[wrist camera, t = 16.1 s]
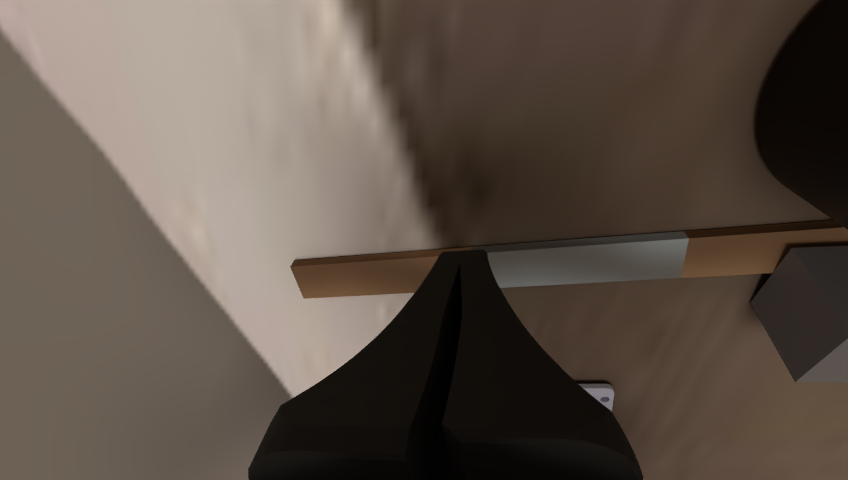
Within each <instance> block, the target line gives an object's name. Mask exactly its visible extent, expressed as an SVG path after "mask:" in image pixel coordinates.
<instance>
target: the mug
mask: <svg viewBox="0 0 848 480" xmlns="http://www.w3.org/2000/svg"><path fill="white" fill-rule="evenodd" d="M758 124H759V139H760V145H761V149H762V153H763V157H764V160H765V161H766V163H767V165H768V167H769V169H770V170H771V172H772V173H773V175H774V176H775V177H776V178H777V179H778V180H779V181H780V182H781V183H782V184H783V185H784V186H786V187H787V188H789V189H790V190H791V191H793V192H794V193H796V194H797V195H799V196H800V197H801V198H803V199H804V200H806V201H807V202H809V203H810V204H811V205H813V206H814V207H816V208H817V209H819V210H820V211H822V212H823V213H824V214H826V215H827V216H829V217H830V218H832V219H833V220H834V221H836V222H837V223H839V224H840V225H842V226H843V227H844V228H846V229H847V230H848V0H825V1H824V2H823V3H822V4H821V5H820V6H819V7H818V8H817V9H816V10H815V11H814V13H813V14H812V15H811V16H810V17H809V18H808V19H807V21H806V22H805V23H804V24H803V25H802V27H801V28H800V29H799V30H798V32H797V33H796V34H795V35H794V36H793V38H792V39H791V41H790V42H789V44H788V46H787V47H786V49H785V50H784V52H783V53H782V55H781V56H780V58H779V60H778V62H777V64H776V66H775V68H774V70H773V72H772V74H771V76H770V78H769V80H768V82H767V86H766V89H765V92H764V95H763V98H762V102H761V107H760V114H759V120H758Z"/></svg>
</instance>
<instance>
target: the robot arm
mask: <svg viewBox="0 0 848 480" xmlns="http://www.w3.org/2000/svg"><path fill="white" fill-rule="evenodd" d="M613 400H614V390H613V387H612V386H611V385H609V384H578V383H577V382H576V381H574V380H573V379H572V378H571V377H570V376H569V375H568V374H567V373H566V372H565V371H564V370H563V369H562V368H561V367H560V366H559V365H558V364H557V363H556V362H555V361H554V360H553V359H552V358H551V357H550V356H549V355H548V354H547V353H546V352H545V351H544V350H543V349H542V348H541V347H540V345H539V344H538V343H537V342H536V341H535V339H534V338H533V337H532V336H531V335H530V333H529V332H528V331H527V329H526V328H525V327H524V326H523V324H522V323H521V321H520V320H519V319H518V317H517V316H516V314H515V313H514V311H513V310H512V308H511V306H510V305H509V303H508V302H507V300H506V298H505V297H504V295H503V293H502V291H501V289H500V287H499V285H498V283H497V281H496V279H495V277H494V275H493V272H492V270H491V267H490V264H489V261H488V254H487V252H486V251H485V250H484V249H480V250H464V251H447V252H442V253H441V254H440V255H439V256H438V258H437V260H436V262H435V263H434V265H433V267H432V268H431V270H430V271H429V273H428V275H427V276H426V278H425V279H424V281H423V282H422V283H421V285H420V286H419V288H418V289H417V291H416V292H415V293H414V295H413V296H412V297H411V299H410V300H409V301H408V302H407V304H406V305H405V306H404V307H403V309H402V310H401V311H400V312H399V314H398V315H397V316H396V317H395V318H394V319H393V320H392V321H391V323H390V324H389V325H388V326H387V327H386V328H385V329H384V330H383V331H382V332H381V333H380V334H379V335H378V336H377V337H376V338H375V339H374V340H373V341H372V342H370V343H369V344H368V345H367V346H366V347H365V348H364V349H362V350H361V351H360V352H359V353H358V354H357V355H355V356H354V357H353V358H352V359H351V360H349V361H348V362H347V363H345V364H344V365H343V366H341V367H340V368H339V369H337V370H336V371H334V372H333V373H332V374H330V375H329V376H327V377H326V378H325V379H323V380H322V381H320V382H319V383H317V384H316V385H314V386H312V387H311V388H309V389H307V390H306V391H304V392H302V393H301V394H299V395H297V396H296V397H294V398H293V399H291V400H289V401H288V402H286V403H284V404H282V405H281V406H280V408H279V410H278V412H277V413H276V415H275V416H274V418H273V420H272V422H271V423H270V425H269V427H268V429H267V431H266V433H265V435H264V438H263V440H262V442H261V444H260V446H259V448H258V450H257V452H256V454H255V457H254V459H253V461H252V463H251V465H250V467H249V469H248V471H249V472H248V474H249V475H248V477H249V480H643V475H642V472H641V469H640V466H639V463H638V461H637V459H636V456H635V454H634V452H633V450H632V448H631V445H630V443H629V441H628V439H627V438H626V436H625V434H624V432H623V430H622V428H621V427H620V425H619V423H618V422H617V420H616V418H615V416H614V415H613V413H612V408H613Z"/></svg>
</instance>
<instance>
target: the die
mask: <svg viewBox="0 0 848 480" xmlns="http://www.w3.org/2000/svg"><path fill="white" fill-rule="evenodd" d="M750 303H751V305H752V307H753V308H754V310H755V312H756V314H757V316H758V317H759V319H760V321H761V323H762V324H763V326H764V328H765V330H766V331H767V333H768V335H769V337H770V338H771V340H772V342H773V344H774V346H775V347H776V349H777V351H778V353H779V354H780V356H781V358H782V360H783V361H784V363H785V365H786V367H787V369H788V370H789V372H790V374H791V376H792V377H793V379H794V381H795V382H832V383H848V246H829V247H803V248H791V249H790V251H789V252H788V253H787V255H786V256H785V257H784V259H783V260H782V261H781V263H780V264H779V265H778V267H777V268H776V269H775V271H774V272H773V273H772V275H771V276H770V277H769V278H768V280H767V281H766V282H765V284H764V285H763V286H762V288H761V289H760V290H759V292H758V293H757V294H756V296H755V297H754V298H753V300H752V301H751V302H750Z"/></svg>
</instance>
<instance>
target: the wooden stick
mask: <svg viewBox="0 0 848 480" xmlns="http://www.w3.org/2000/svg"><path fill="white" fill-rule="evenodd" d="M829 246H848V230H847V229H846V228H844V227H843V226H842V225H840V224H839V223H837V222H836V221H834V220H826V221H812V222H799V223H786V224H772V225H759V226H745V227H732V228H719V229H705V230H692V231H678V232H665V233H652V234H638V235H625V236H611V237H598V238H585V239H571V240H558V241H544V242H531V243H518V244H504V245H491V246H477V247H464V248H451V249H437V250H424V251H410V252H397V253H384V254H370V255H357V256H343V257H330V258H317V259H303V260H294V262H293V263H292V265H291V266H290V267H291V270H292V272H293V274H294V277H295V279H296V281H297V284H298V286H299V288H300V291H301V293H302V295H303V298H322V297H341V296H359V295H378V294H396V293H414V292H416V291H417V289H418V288H419V286H420V285H421V283H422V282H423V281H424V279H425V278H426V276H427V275H428V273H429V271H430V270H431V268H432V267H433V265H434V263H435V262H436V260H437V258H438V256H439V255H440V254H441V253H442V252H447V251H464V250H480V249H484V250H485V251H486V252H487V254H488V261H489V264H490V267H491V270H492V272H493V275H494V277H495V279H496V281H497V283H498V285H499V287H500V288H507V287H525V286H543V285H562V284H580V283H599V282H617V281H635V280H654V279H672V278H691V277H709V276H727V275H746V274H764V273H773V272H774V271H775V269H776V268H777V267H778V265H779V264H780V263H781V261H782V260H783V259H784V257H785V256H786V255H787V253H788V252H789V251H790V249H791V248H803V247H829Z"/></svg>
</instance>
